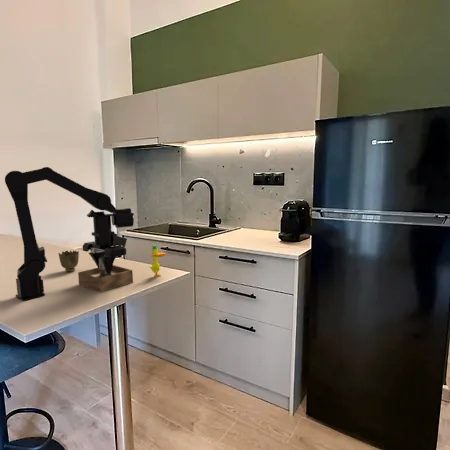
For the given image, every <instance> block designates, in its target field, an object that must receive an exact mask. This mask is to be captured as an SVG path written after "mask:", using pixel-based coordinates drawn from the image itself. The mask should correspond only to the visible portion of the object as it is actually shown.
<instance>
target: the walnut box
mask: <svg viewBox="0 0 450 450" xmlns="http://www.w3.org/2000/svg"><path fill="white" fill-rule="evenodd" d="M111 274H112V275H110V276H106V277H102V278H100V274H99V268H98V267H96V268H95V267H94V268H90V269H87V270H82V271H79V272H77V276H78V285H79V286H81V287H84V288H88V289H89V290H93V291H95V292H98V293H102V292H105V291H108V290H111V289H115V288H118V287H122V286H126V285H129V284H131V283H132V284H133V283H134V277H133V269H130V268H127V267H126V268H125V267H122V266H120V265H119V266H118V265H115V264H113V266H112V269H111Z"/></svg>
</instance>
